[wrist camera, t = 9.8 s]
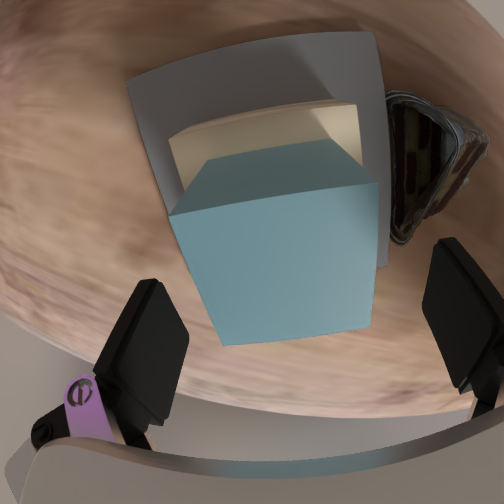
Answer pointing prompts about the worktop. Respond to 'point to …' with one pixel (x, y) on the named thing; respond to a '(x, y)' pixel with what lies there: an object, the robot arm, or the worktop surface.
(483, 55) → the worktop surface
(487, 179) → the worktop surface
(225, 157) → the teal block
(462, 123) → the chocolate cake
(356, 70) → the stacking base
